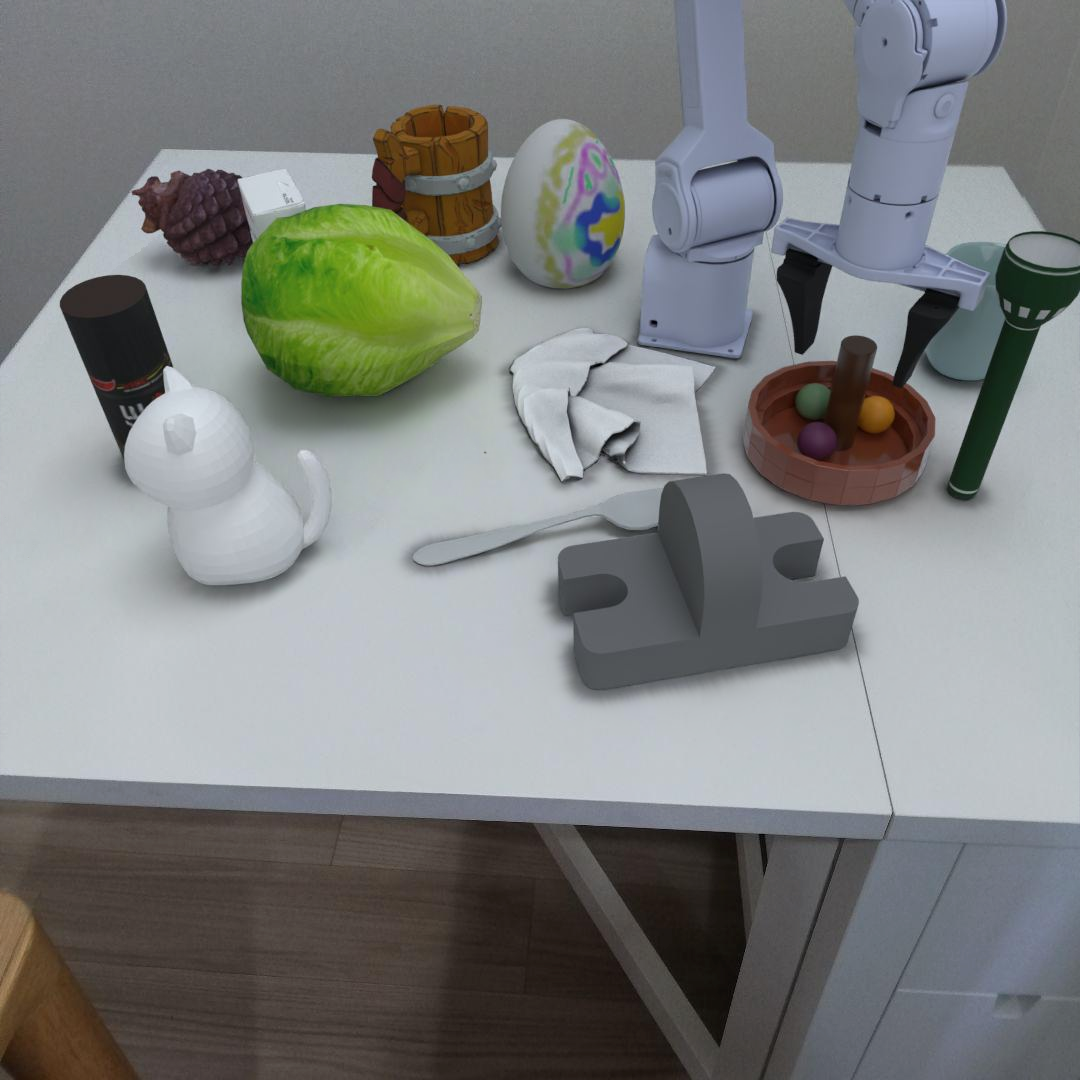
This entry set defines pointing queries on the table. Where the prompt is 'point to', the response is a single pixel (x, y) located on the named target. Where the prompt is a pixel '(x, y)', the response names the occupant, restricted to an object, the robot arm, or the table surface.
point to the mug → (440, 178)
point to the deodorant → (118, 346)
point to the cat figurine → (220, 487)
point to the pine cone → (198, 215)
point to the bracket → (701, 590)
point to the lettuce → (353, 300)
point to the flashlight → (1015, 339)
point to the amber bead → (876, 415)
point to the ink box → (269, 199)
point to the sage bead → (812, 401)
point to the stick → (849, 388)
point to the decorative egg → (562, 206)
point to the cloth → (610, 404)
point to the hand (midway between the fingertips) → (851, 363)
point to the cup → (970, 321)
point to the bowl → (845, 475)
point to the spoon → (620, 510)
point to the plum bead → (817, 441)
